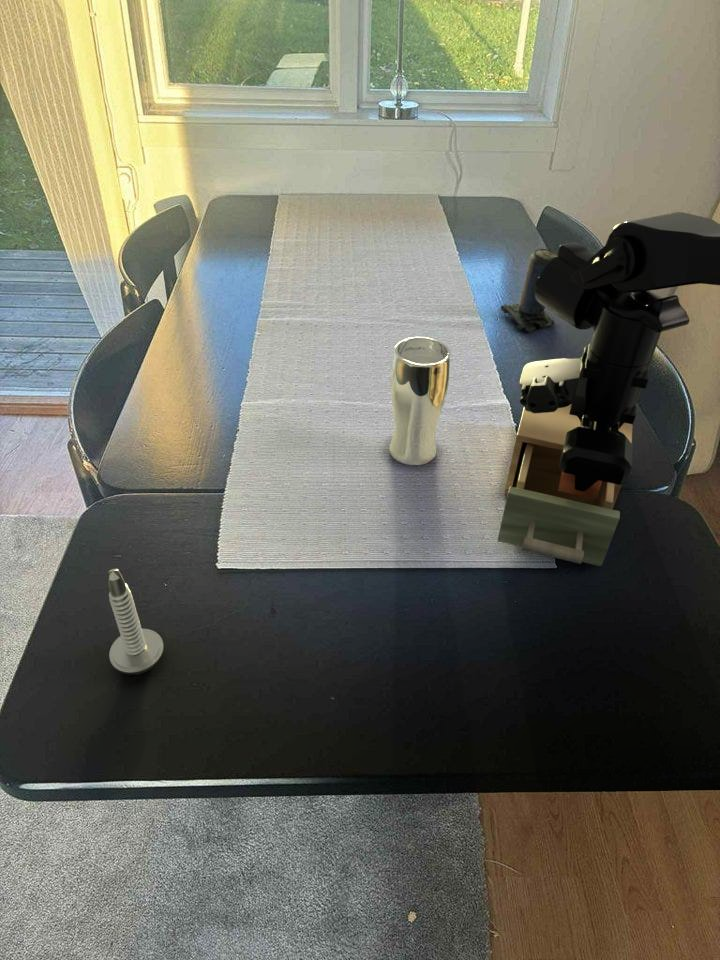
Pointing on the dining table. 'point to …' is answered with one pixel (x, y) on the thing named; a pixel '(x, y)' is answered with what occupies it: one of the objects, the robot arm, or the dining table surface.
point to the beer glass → (418, 397)
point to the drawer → (556, 513)
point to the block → (569, 486)
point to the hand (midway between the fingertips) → (581, 477)
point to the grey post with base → (531, 295)
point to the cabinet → (547, 438)
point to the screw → (131, 632)
